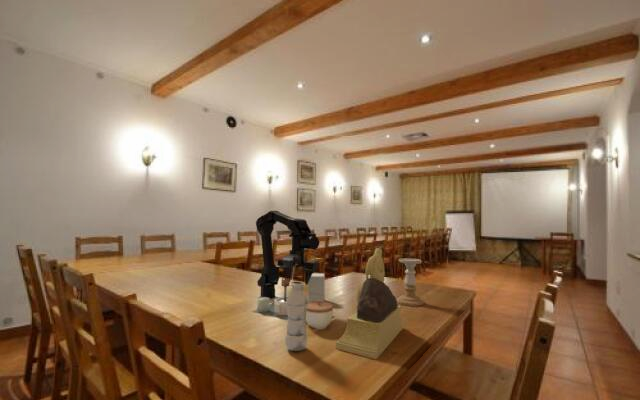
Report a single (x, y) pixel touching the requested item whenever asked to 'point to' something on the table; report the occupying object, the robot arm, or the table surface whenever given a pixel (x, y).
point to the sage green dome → (263, 305)
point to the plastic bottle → (296, 318)
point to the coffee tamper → (284, 283)
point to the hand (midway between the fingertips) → (297, 283)
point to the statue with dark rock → (372, 314)
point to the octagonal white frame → (280, 307)
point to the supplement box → (316, 287)
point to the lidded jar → (319, 314)
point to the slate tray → (272, 313)
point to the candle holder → (410, 284)
